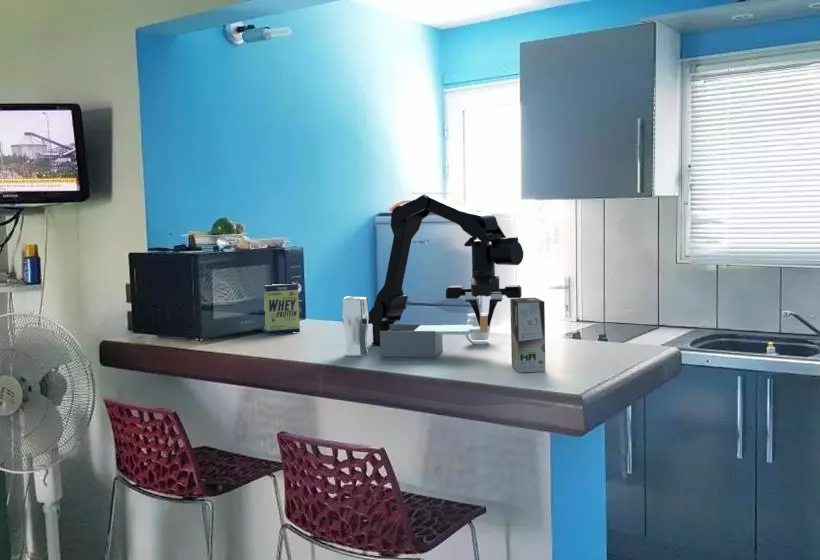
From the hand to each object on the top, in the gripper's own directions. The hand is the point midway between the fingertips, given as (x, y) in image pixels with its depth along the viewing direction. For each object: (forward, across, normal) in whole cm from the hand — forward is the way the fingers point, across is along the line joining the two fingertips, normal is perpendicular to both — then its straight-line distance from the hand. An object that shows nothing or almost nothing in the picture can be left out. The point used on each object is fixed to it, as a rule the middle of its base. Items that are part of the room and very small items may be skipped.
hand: (484, 325), depth 203 cm
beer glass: (+8, -34, +1) cm, 35 cm away
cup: (+8, -4, +18) cm, 20 cm away
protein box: (+8, -70, +43) cm, 82 cm away
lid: (+1, -8, 0) cm, 8 cm away
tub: (+8, -19, 0) cm, 20 cm away
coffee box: (+8, +11, -17) cm, 22 cm away
